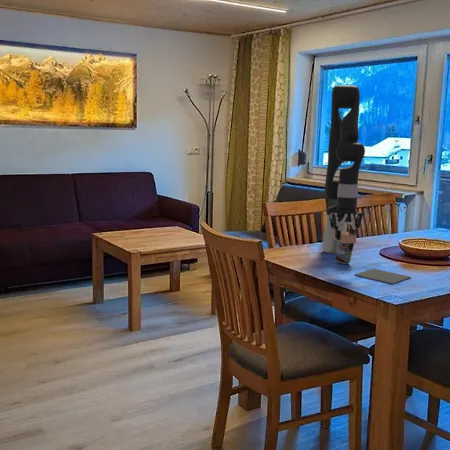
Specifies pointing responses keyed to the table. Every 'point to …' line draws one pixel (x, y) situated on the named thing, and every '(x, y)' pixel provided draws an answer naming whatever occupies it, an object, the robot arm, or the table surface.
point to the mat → (382, 276)
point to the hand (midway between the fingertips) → (344, 239)
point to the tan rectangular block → (346, 237)
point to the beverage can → (344, 252)
